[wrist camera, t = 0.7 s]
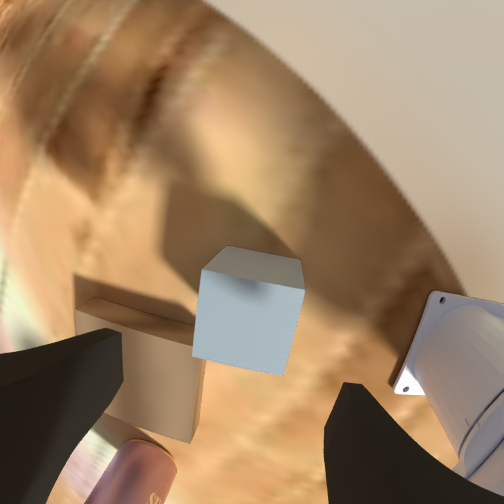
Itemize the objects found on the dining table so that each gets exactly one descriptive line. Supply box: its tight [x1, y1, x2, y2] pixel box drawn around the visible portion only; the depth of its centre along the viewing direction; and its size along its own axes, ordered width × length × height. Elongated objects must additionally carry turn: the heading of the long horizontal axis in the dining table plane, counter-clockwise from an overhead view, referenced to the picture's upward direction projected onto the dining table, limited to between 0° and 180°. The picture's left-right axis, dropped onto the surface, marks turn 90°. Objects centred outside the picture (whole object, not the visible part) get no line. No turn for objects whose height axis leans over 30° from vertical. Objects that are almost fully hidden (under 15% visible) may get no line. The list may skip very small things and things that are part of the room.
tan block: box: [75, 297, 206, 444], centre depth 20 cm, size 9×9×3 cm
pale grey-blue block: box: [192, 245, 305, 376], centre depth 16 cm, size 4×4×6 cm
